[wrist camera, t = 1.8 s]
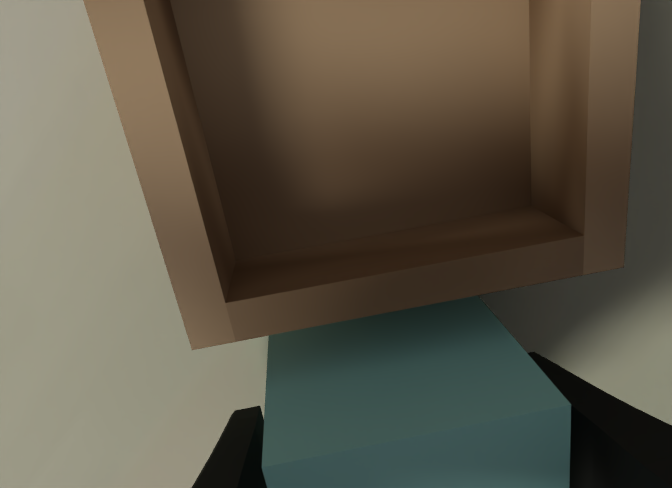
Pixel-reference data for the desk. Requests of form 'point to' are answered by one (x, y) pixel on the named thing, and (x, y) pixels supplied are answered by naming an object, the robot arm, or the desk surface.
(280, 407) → the teal block
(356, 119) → the walnut puzzle board
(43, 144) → the desk surface
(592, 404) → the robot arm
